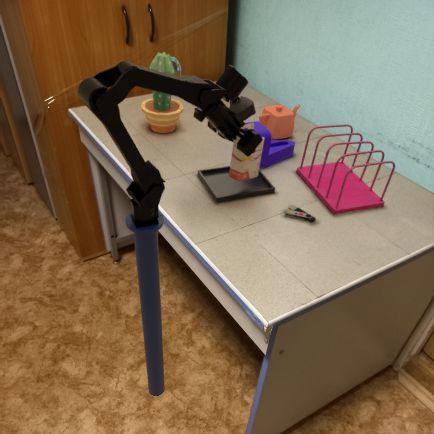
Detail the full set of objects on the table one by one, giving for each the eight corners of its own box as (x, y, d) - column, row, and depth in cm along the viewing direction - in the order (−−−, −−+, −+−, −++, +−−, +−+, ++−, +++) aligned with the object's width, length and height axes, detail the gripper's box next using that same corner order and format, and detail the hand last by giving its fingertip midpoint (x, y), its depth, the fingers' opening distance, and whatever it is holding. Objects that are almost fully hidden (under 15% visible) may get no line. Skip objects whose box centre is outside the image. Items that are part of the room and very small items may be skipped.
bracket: (254, 169, 139) (259, 135, 131) (239, 154, 146) (243, 120, 137) (300, 160, 145) (307, 127, 137) (283, 146, 152) (289, 113, 143)
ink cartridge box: (241, 182, 123) (248, 131, 114) (228, 177, 125) (234, 126, 116) (258, 176, 128) (267, 126, 119) (246, 171, 130) (253, 122, 122)
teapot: (248, 130, 159) (252, 102, 152) (287, 123, 166) (292, 96, 158) (264, 144, 152) (269, 115, 145) (305, 136, 159) (311, 108, 151)
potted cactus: (178, 139, 150) (178, 63, 133) (136, 133, 151) (131, 57, 134) (187, 121, 161) (188, 49, 144) (148, 116, 162) (144, 43, 145)
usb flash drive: (316, 220, 120) (316, 217, 120) (304, 227, 118) (305, 224, 117) (292, 207, 125) (293, 204, 124) (281, 213, 122) (281, 210, 121)
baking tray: (216, 203, 124) (216, 198, 122) (197, 175, 134) (197, 170, 133) (274, 193, 130) (275, 188, 128) (252, 167, 140) (252, 162, 139)
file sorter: (341, 166, 144) (354, 121, 133) (383, 207, 128) (403, 159, 117) (295, 171, 140) (305, 125, 128) (333, 215, 123) (349, 166, 112)
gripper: (262, 103, 102) (288, 138, 114) (219, 77, 112) (247, 112, 125) (232, 140, 104) (261, 171, 117) (193, 111, 114) (223, 142, 127)
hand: (248, 147), depth 121 cm, fingers closed on ink cartridge box, 5 cm apart
